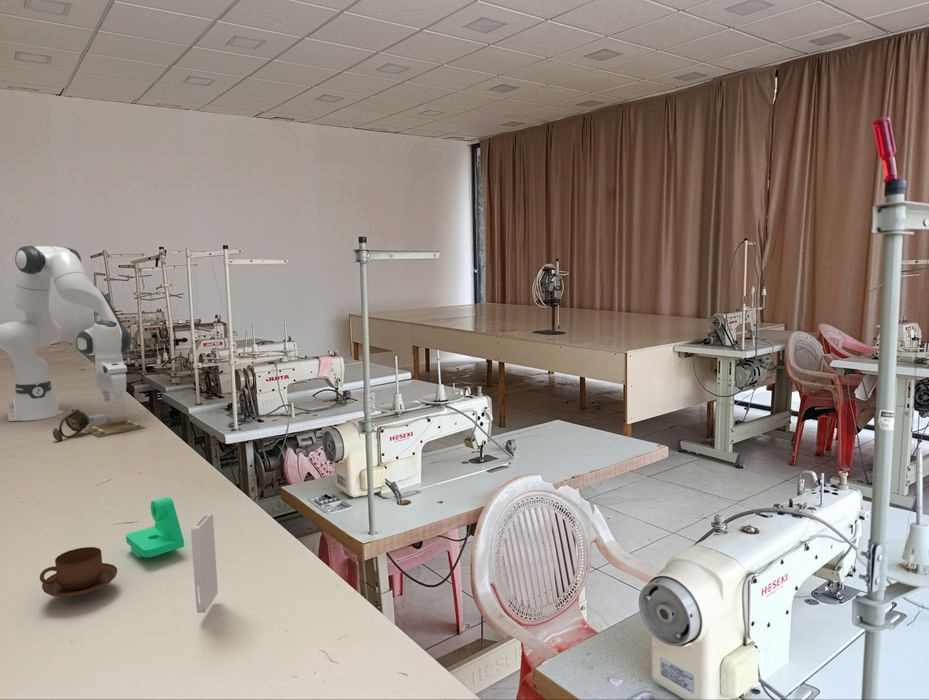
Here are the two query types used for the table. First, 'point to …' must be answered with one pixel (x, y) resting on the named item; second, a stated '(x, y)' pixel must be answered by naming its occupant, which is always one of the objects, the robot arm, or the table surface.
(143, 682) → the table surface
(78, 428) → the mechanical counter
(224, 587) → the table surface
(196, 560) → the phone case
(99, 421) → the usb wall charger
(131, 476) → the table surface
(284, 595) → the table surface
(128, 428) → the picture frame
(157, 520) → the camera mount
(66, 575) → the cup and saucer
